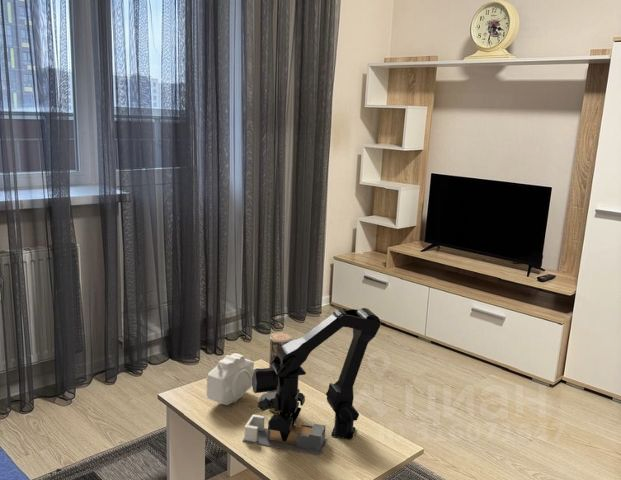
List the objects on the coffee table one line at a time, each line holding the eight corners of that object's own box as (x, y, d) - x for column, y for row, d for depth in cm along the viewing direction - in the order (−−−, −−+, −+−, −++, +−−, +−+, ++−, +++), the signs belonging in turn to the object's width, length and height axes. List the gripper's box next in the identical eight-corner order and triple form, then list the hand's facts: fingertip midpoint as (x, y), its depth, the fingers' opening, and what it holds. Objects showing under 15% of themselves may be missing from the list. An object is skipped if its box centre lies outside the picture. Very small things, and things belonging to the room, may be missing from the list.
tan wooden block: (271, 432, 176) (271, 420, 175) (320, 441, 173) (320, 429, 172) (267, 439, 172) (267, 427, 171) (316, 448, 169) (317, 436, 168)
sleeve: (301, 436, 175) (302, 421, 174) (324, 440, 174) (325, 425, 173) (296, 448, 169) (297, 432, 168) (320, 452, 168) (321, 436, 167)
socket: (252, 427, 179) (252, 414, 178) (264, 429, 178) (264, 416, 177) (244, 439, 172) (244, 426, 171) (256, 442, 171) (256, 428, 170)
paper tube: (286, 414, 188) (288, 341, 182) (265, 411, 189) (267, 339, 183) (291, 404, 194) (293, 333, 188) (271, 401, 195) (273, 331, 190)
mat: (251, 426, 180) (251, 425, 180) (326, 439, 175) (326, 438, 175) (242, 441, 172) (242, 440, 172) (320, 455, 167) (320, 454, 167)
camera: (201, 406, 190) (201, 361, 186) (236, 385, 205) (237, 343, 202) (227, 417, 185) (228, 370, 181) (261, 394, 200) (262, 351, 196)
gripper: (271, 370, 180) (269, 416, 183) (251, 399, 162) (249, 449, 166) (306, 376, 178) (304, 422, 181) (289, 405, 160) (287, 456, 163)
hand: (286, 436), depth 173 cm, fingers closed on tan wooden block, 4 cm apart
